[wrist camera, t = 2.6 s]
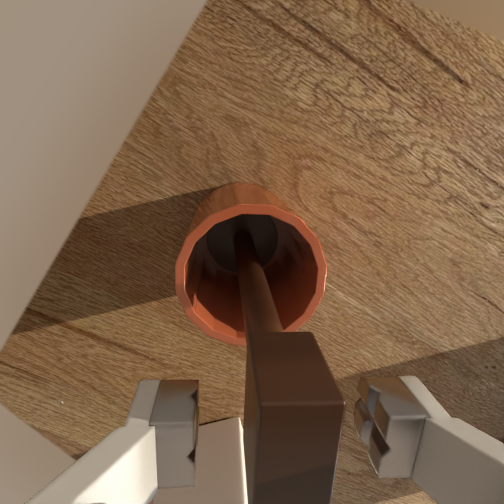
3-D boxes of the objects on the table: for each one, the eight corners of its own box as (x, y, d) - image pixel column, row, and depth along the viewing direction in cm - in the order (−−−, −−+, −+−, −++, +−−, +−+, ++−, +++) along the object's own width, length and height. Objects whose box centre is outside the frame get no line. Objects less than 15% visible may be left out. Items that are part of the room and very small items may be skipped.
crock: (191, 180, 26) (173, 201, 16) (293, 184, 27) (334, 206, 17) (191, 278, 28) (176, 346, 19) (286, 279, 29) (318, 345, 19)
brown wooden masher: (208, 199, 26) (167, 370, 6) (277, 202, 26) (436, 367, 7) (207, 265, 27) (174, 566, 8) (272, 266, 28) (392, 551, 8)
